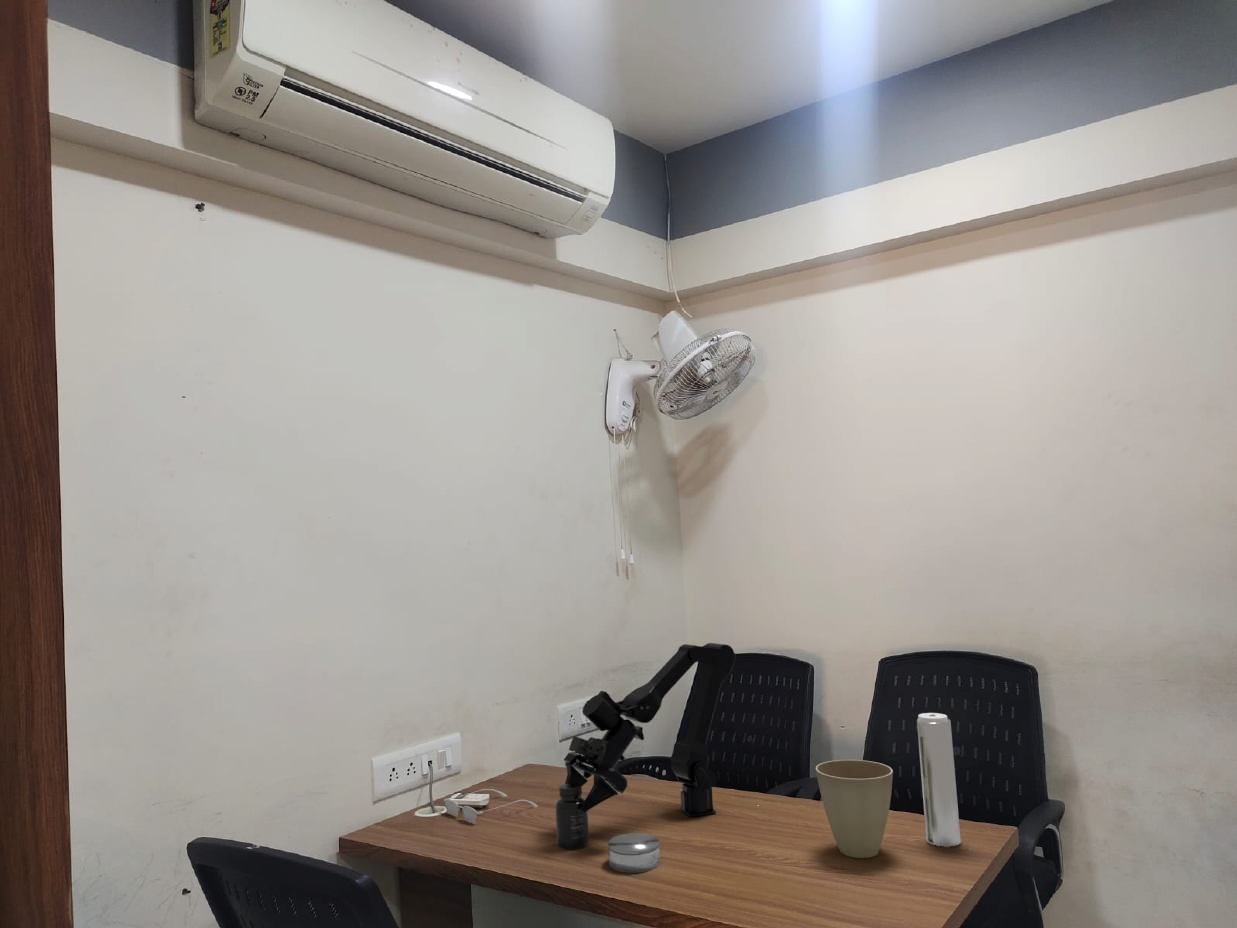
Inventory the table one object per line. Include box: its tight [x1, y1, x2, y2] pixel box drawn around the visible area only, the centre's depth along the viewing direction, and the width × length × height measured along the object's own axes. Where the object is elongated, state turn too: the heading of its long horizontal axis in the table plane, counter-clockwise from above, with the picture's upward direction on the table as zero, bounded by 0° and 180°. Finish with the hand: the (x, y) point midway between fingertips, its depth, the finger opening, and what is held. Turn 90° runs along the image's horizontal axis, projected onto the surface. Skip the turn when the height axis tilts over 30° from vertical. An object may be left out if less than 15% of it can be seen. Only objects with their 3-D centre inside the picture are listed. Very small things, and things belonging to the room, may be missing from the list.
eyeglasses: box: [443, 788, 538, 825], centre depth 202 cm, size 15×18×4 cm
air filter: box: [916, 712, 962, 848], centre depth 168 cm, size 6×6×25 cm
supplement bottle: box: [555, 783, 590, 850], centre depth 176 cm, size 7×7×12 cm
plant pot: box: [815, 759, 894, 859], centre depth 165 cm, size 15×15×16 cm
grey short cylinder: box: [607, 832, 661, 874], centre depth 164 cm, size 10×10×4 cm
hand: (571, 805), depth 176 cm, fingers open, 9 cm apart
